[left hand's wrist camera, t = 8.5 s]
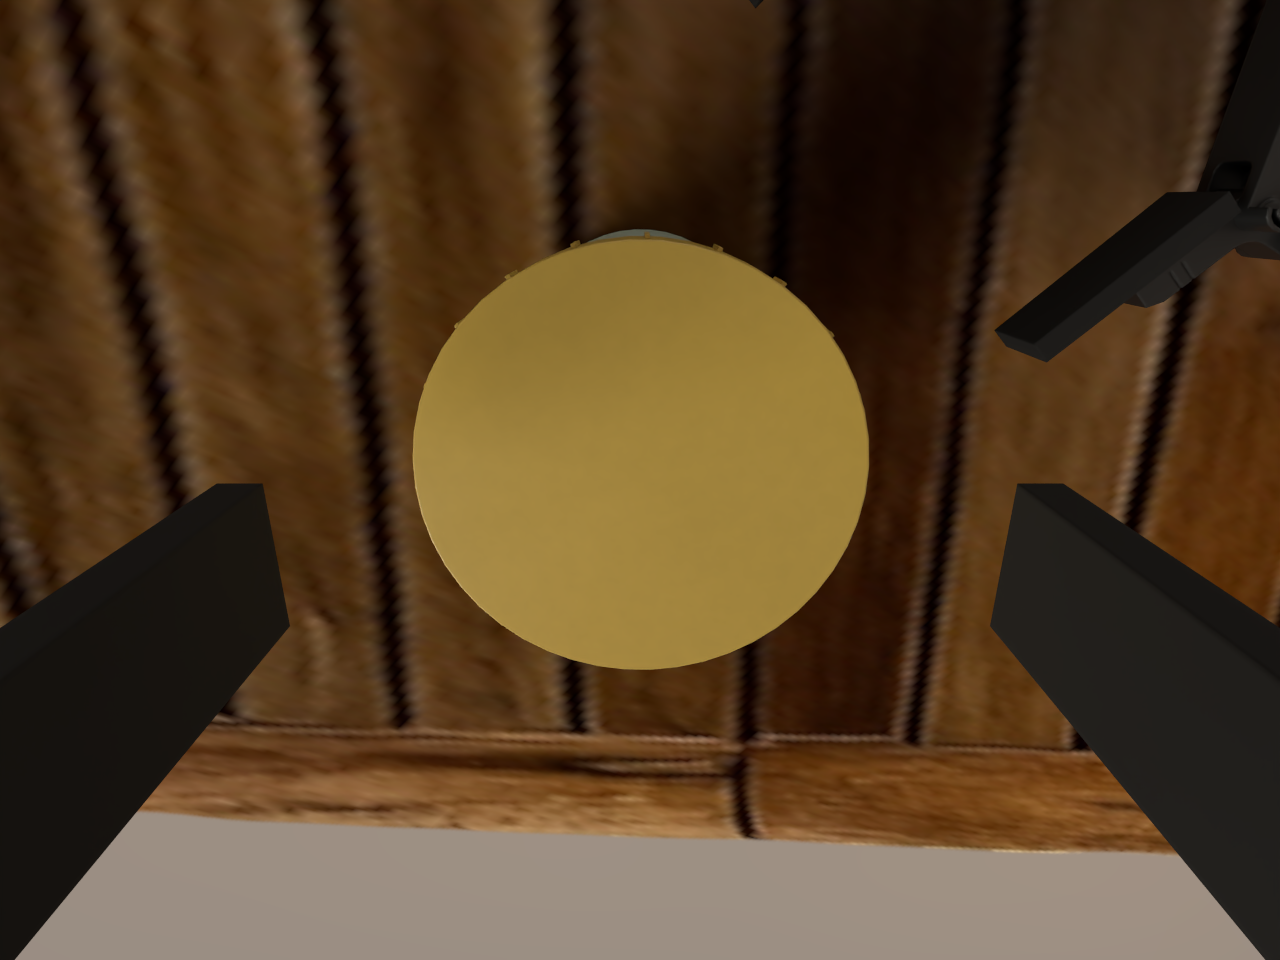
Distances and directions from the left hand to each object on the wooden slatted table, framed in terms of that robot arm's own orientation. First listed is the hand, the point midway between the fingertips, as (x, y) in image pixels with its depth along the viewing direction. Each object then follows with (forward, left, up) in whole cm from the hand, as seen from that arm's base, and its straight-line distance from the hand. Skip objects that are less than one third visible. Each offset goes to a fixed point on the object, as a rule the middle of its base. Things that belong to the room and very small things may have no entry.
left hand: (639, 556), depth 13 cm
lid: (0, 0, -4) cm, 4 cm away
